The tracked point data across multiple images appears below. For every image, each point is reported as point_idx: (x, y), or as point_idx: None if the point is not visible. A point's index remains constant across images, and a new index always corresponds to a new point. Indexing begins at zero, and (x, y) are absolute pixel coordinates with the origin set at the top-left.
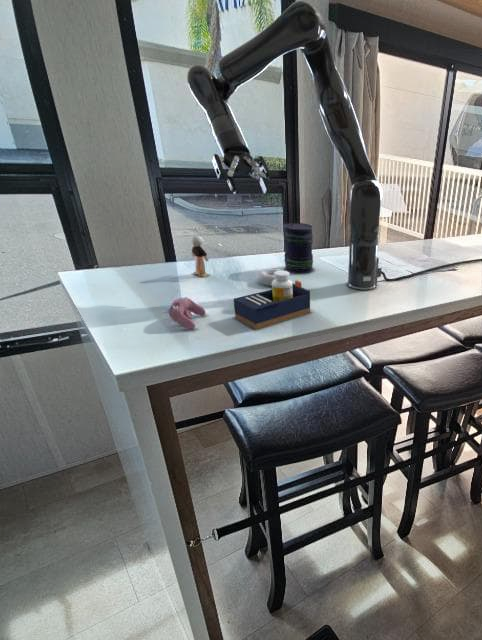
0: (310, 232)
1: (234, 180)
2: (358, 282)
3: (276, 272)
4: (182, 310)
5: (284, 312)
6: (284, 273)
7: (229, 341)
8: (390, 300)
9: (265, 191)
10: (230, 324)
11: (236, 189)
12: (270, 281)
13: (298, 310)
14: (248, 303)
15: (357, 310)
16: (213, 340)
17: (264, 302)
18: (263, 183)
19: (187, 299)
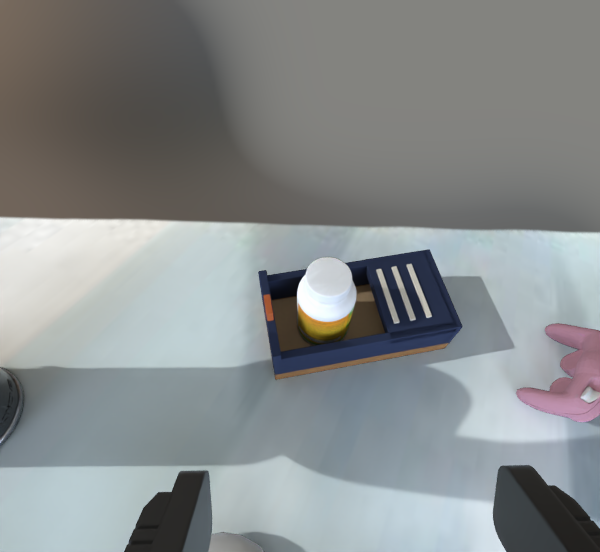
0: None
1: (571, 546)
2: (5, 377)
3: (342, 284)
4: (588, 339)
5: None
6: (323, 269)
7: (480, 255)
8: (23, 279)
9: (210, 497)
10: (463, 322)
11: (523, 465)
12: (257, 546)
13: None
14: (433, 283)
15: (152, 266)
16: (509, 270)
17: (396, 268)
18: (189, 542)
19: (581, 384)
